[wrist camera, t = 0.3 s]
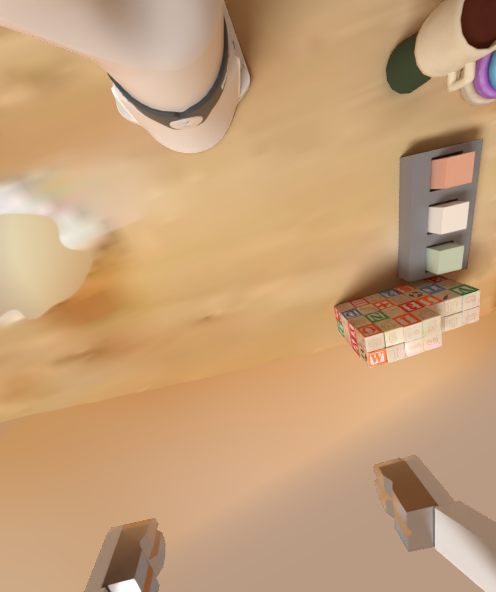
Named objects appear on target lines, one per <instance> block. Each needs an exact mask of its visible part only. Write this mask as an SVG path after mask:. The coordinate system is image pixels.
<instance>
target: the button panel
mask: <svg viewBox="0 0 496 592" xmlns="http://www.w3.org/2000/svg"><path fill="white" fill-rule="evenodd" d="M482 143H483V139H478V140H474V141H469V142H465V143H461V144H456V145H452V146H448V147H444V148H440V149H435V150H431V151H427V152H423V153H419V154H414V155H410V156H406V157H402V158H400V192H399V259H398V277H399V278H401V279H403V280H405V281H407V282H411V281H416V280H420V279H424V278H428V277H432V276H437V274H434V273H432V272H429V271H426V270H425V262H426V248H427V247H432V246H436V245H440V244H444V243H449V242H450V243H455V244H460V245H464V253H463V261H462V269H466V268H467V263H468V255H469V247H470V239H471V231H472V223H473V215H474V207H475V199H476V191H477V183H478V175H479V167H480V159H481V151H482ZM474 151H475V158H474V167H473V176H472V182H471V183H467V184H462V185H458V186H454V187H450V188H446V189H430V176H431V161H432V160H436V159H440V158H444V157H449V156H453V155H457V154H463V153H468V152H474ZM452 201H468V202H469V210H468V218H467V227H466V229H462V230H458V231H454V232H450V233H445V234H435V233H430V232H427V228H428V211H429V207H431V206H435V205H439V204H443V203H447V202H452ZM462 269H460V270H462ZM456 271H458V270H456ZM452 272H453V271H452ZM447 273H449V272H447ZM443 274H445V273H443ZM439 275H441V274H439Z"/></svg>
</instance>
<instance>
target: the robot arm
mask: <svg viewBox="0 0 496 592" xmlns="http://www.w3.org/2000/svg"><path fill="white" fill-rule="evenodd" d="M0 26H3V27H6V28H9V29H12V30H14V31H17V32H20V33H23V34H26V35H29V36H31V37H34V38H37V39H39V40H42V41H45V42H47V43H50V44H53V45H55V46H58V47H61V48H64V49H66V50H69V51H72V52H74V53H77V54H79V55H82V56H84V57H86V58H88V59H90V60H93V61H94V62H96V63H97V64H98V65H99V66H101V67H102V68H103V69H104V70H105V71H106V72H107V74H108V75H109V77H110V79H111V80H112V83H113V86H112V87H111V89H112V92H113V94H114V96H115V99H116V105H117V109H118V111H119V113H120V114H121V115H122V116H123V117H124V118H125V119H127V120H128V121H130V122H133V123H135V124H137V125H140V126H142V127H143V128H144V129H145V130H146V131H148V132H149V134H150V135H152V136H153V137H154V138H155V139H156V140H157V141H158V142H159V143H161V144H162V145H164V146H166V147H167V148H169V149H172V150H174V151H178V152H182V153H197V152H201V151H204V150H207V149H209V148H210V147H212V146H214V145H215V144H216V143H217V142H218V141H219V140H221V138H222V137H223V136H224V135H225V133H226V132H227V130H228V128H229V126H230V124H231V122H232V119H233V116H234V112H235V109H236V107H237V104H238V103H239V101H240V100H241V99H242V98H243V97H244V95H245V94H246V92H247V91H248V89H249V87H250V75H249V72H248V69H247V66H246V63H245V60H244V57H243V54H242V51H241V48H240V45H239V43H238V40H237V37H236V34H235V31H234V28H233V25H232V22H231V19H230V16H229V13H228V10H227V7H226V4H225V1H224V0H0ZM240 70H241V73H240ZM374 473H375V474H376V476H377V479H376V480H375V485H376V490H377V493H378V496H379V499H380V501H381V503H382V505H383V507H384V509H385V511H386V512H387V513H388V514H389V515H390V516H392V517H393V518H394V522H395V529H396V530H397V532H398V534H399V536H400V538H401V539H402V541H403V543H404V545H405V547H406V549H407V550H408V552H411V551H416V550H420V549H426V548H431V547H435V549H436V550H437V551H438V552H440V553H441V554H442V555H443V556H444V557H445V558H447V559H448V560H449V561H450V562H451V563H452V564H454V565H455V566H456V567H457V568H458V569H459V570H461V571H462V572H463V573H464V574H465V575H466V576H468V577H469V578H470V579H471V580H472V581H474V582H475V583H476V584H477V585H478V586H479V587H480V588H482V589H483V590H484V591H485V592H496V522H494V521H493V520H491V519H489V518H488V517H486V516H484V515H482V514H481V513H479V512H478V511H476V510H474V509H473V508H471V507H469V506H467V505H466V504H464V503H463V502H461V501H457V502H455V501H454V500H453V498H452V497H451V496H450V495H449V494H448V492H447V491H446V490H445V489H444V487H443V486H442V485H441V484H440V483H439V481H438V480H437V479H436V478H435V477H434V475H433V474H432V473H431V472H430V471H429V469H428V468H427V467H426V466H425V465H424V463H423V462H422V461H421V460H420V459H419V457H417V456H416V455H411V456H408V457H404V458H398V459H394V460H390V461H387V462H383V463H379V464H375V465H374ZM157 526H158V523H157V521H156V519H155V518H152V519H148V520H143V521H139V522H134V523H130V524H125V525H120V526H117V527H112V528H111V529H110V531H109V532H108V534H107V536H106V538H105V540H104V543H103V545H102V548H101V550H100V553H99V556H98V558H97V561H96V563H95V566H94V568H93V571H92V573H91V576H90V578H89V581H88V583H87V586H86V588H85V591H84V592H158V590H159V582H158V579H157V576H158V574H159V573H160V571H161V569H162V568H163V564H164V558H165V540H164V536H163V534H162V532H160V531H158V530H157Z"/></svg>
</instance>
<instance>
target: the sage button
mask: <svg viewBox="0 0 496 592" xmlns="http://www.w3.org/2000/svg"><path fill="white" fill-rule="evenodd" d="M463 253H464V245H460V244H455V243H450V242H449V243H444V244H440V245H436V246H432V247H427V248H426V262H425V270H426V271H429V272H432V273H434V274H437V275H439V274H443V273H447V272H452V271H456V270H460V269H462V261H463Z"/></svg>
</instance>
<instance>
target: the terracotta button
mask: <svg viewBox="0 0 496 592" xmlns="http://www.w3.org/2000/svg"><path fill="white" fill-rule="evenodd" d="M474 158H475V151H474V152H468V153H463V154H457V155H453V156H449V157H444V158H440V159H436V160H432V161H431V176H430V189H446V188H450V187H454V186H458V185H462V184H467V183H471V182H472V176H473V167H474Z"/></svg>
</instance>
